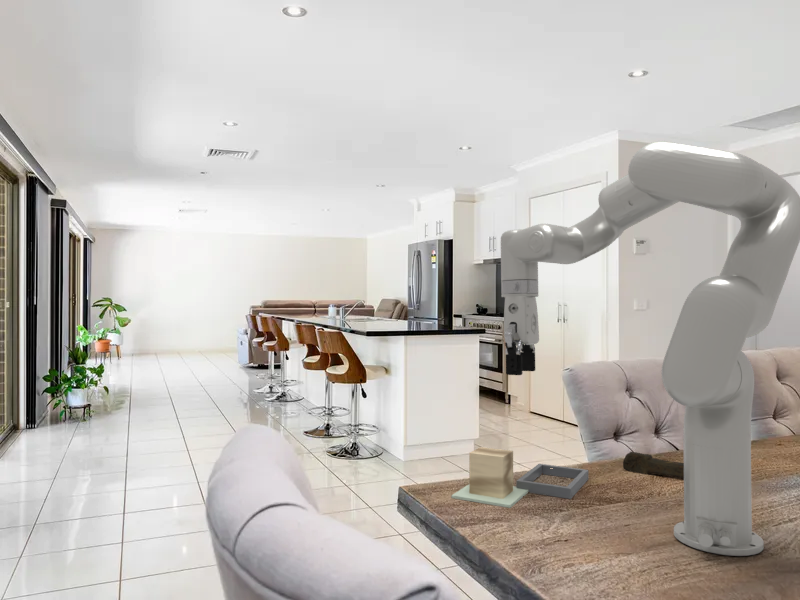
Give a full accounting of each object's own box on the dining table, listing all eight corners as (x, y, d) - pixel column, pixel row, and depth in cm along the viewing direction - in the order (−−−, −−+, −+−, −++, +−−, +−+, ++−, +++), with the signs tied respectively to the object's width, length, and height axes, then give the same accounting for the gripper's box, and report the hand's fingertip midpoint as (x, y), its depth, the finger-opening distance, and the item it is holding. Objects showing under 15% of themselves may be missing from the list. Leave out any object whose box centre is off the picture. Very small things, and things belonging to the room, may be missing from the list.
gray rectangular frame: (570, 499, 115) (570, 488, 115) (516, 490, 121) (516, 480, 121) (588, 479, 129) (588, 469, 129) (538, 472, 135) (538, 463, 135)
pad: (510, 507, 110) (510, 505, 110) (451, 497, 116) (451, 495, 116) (529, 491, 120) (529, 488, 120) (474, 482, 126) (475, 480, 126)
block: (503, 498, 114) (502, 457, 114) (469, 493, 117) (469, 452, 117) (513, 490, 119) (513, 450, 119) (480, 485, 123) (480, 446, 123)
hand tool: (716, 482, 128) (716, 461, 128) (713, 486, 125) (712, 464, 125) (627, 468, 140) (627, 448, 140) (621, 472, 136) (621, 451, 136)
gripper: (526, 287, 113) (527, 377, 112) (548, 291, 128) (549, 370, 128) (488, 288, 116) (490, 375, 116) (514, 292, 132) (515, 369, 131)
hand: (521, 372), depth 122 cm, fingers open, 9 cm apart
